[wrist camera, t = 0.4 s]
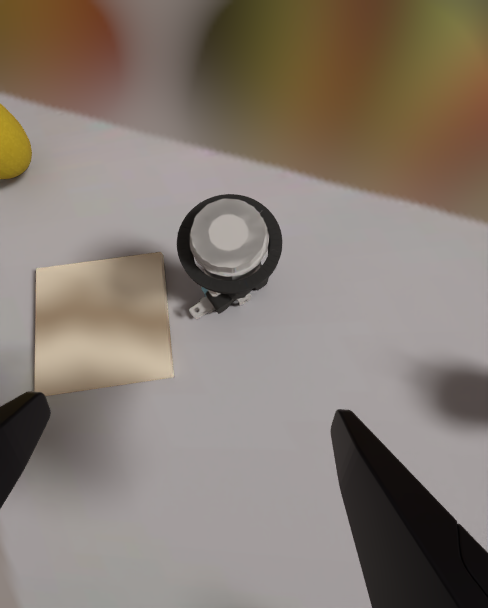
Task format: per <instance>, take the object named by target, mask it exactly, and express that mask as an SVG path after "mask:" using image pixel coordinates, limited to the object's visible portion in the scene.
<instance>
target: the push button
mask: <svg viewBox="0 0 488 608" xmlns="http://www.w3.org/2000/svg"><path fill="white" fill-rule="evenodd" d="M267 249H268V257H267V259H266V261H265V262H264V264H263V265H261V260H262V259H263V257H264V256H265V255H266V252H267ZM177 251H178V256H179V259H180V262H181V264H182V266H183V267H184V269H185V271H186V272H187V274H188V275H189V276H190V277H191V278H192V279H193V280H194V281H195V282H196V283H197V284H199V285H200V286H202V288H201V289H202V290H203V292H204V294H205V297H203V298H202V299H200V302H199V303H198V304H196V305H195V306H193V307H192V308H190V309H189V311H190V312H191V314H192V315H193V317H195V319H199V318H200V317H202V316H203V315H204V314H206V313H207V312H208V313H211V312H212V311H214V310H216V311H217V312H218V314H219V313H222V312H223V311H224V310H226V309H227V308H228V307H229V305H230V304H231V303H232V302H234V301H235V300H238V302H239V306H241V305H243V304H244V303H246V302H247V301H249V300H250V299H251V294H250V291H251V290H252V289H254V288H256V289H257V290H259V289H261V288H262V287H264V286H265V285H266V284H267V282H268V278H269V276H270V275H271V274H272V273H273V271H274V269H275V268H276V266H277V264H278V261H279V258H280V255H281V251H282V235H281V230H280V227H279V225H278V223H277V221H276V219H275V217H274V216H273V215H272V213H271V212H270V211H269V210H268V209H267V208H266V207H265V206H263V205H262V204H261V203H259V202H257V201H256V200H254V199H251V198H249V197H246V196H241V195H234V194H226V195H219V196H215V197H211V198H209V199H207V200H205V201H203V202H201V203H199V204H198V205H197V206H195V207H194V208H193V209H192V210H191V211H190V212H189V213H188V214H187V216H186V217H185V219H184V220H183V222H182V224H181V226H180V229H179V232H178V237H177ZM194 257H195V259H196V261H197V262H198V264H200V265H201V266H202V268H203V270H204V272H205V273H204V272H202V271H201V270H200V269H199V268H198V267H197V266H196V264H195V261H194ZM195 308H196V309H195ZM197 310H200V311H199V312H198V313H196V312H197Z"/></svg>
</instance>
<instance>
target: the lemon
mask: <svg viewBox="0 0 488 608" xmlns="http://www.w3.org/2000/svg"><path fill="white" fill-rule="evenodd" d="M31 156H32V151H31V145H30V141H29V139H28V137H27V135H26V133H25V131H24V129H23V128H22V126H21V125H20V123H19V122H18V121H17V120H16V119H15V117H14V116H13V115H12V114H11V113H10V112H9V111H8V110H7V109H6V108H5V107H4V106H2V105H1V104H0V179H10V178H13V177H17V176H18V175H20V174H22V173H23V172H24V171H25V170H26V169H27V168H28V166H29V164H30V162H31Z"/></svg>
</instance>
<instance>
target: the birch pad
mask: <svg viewBox="0 0 488 608" xmlns="http://www.w3.org/2000/svg"><path fill="white" fill-rule="evenodd" d="M172 377H174V371H173V360H172V349H171V337H170V326H169V315H168V303H167V292H166V281H165V269H164V258H163V255H162V253H161V252H156V253H148V254H141V255H133V256H126V257H119V258H111V259H104V260H96V261H89V262H81V263H74V264H67V265H59V266H52V267H44V268H37V269H36V317H35V391H34V392H42V393H44V395H45V396H50V395H57V394H63V393H70V392H77V391H84V390H91V389H97V388H104V387H111V386H118V385H124V384H131V383H138V382H145V381H152V380H158V379H165V378H172Z"/></svg>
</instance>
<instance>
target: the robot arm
mask: <svg viewBox="0 0 488 608" xmlns="http://www.w3.org/2000/svg"><path fill="white" fill-rule="evenodd" d="M50 413H51V412H50V408H49V405H48V402H47V400H46V397H45V395H44V393H42V392H32V391H30V392H26V393H24V394H22V395H20V396H19V397H17V398H15V399H13V400H11V401H10V402H8V403H6V404H4V405H3V406H1V407H0V508H1V507H2V505H3V504H4V502H5V500H6V499H7V497H8V495H9V494H10V492H11V490H12V489H13V487H14V486H15V484H16V482H17V481H18V479H19V477H20V476H21V474H22V472H23V470H24V469H25V467H26V465H27V463H28V461H29V459H30V457H31V455H32V453H33V451H34V449H35V447H36V445H37V443H38V441H39V439H40V437H41V435H42V433H43V430H44V428H45V426H46V424H47V422H48V420H49V418H50ZM331 438H332V444H333V450H334V457H335V463H336V469H337V475H338V480H339V486H340V490H341V494H342V498H343V502H344V505H345V509H346V513H347V516H348V520H349V524H350V527H351V531H352V535H353V538H354V542H355V546H356V550H357V553H358V557H359V561H360V564H361V568H362V572H363V575H364V579H365V583H366V586H367V590H368V594H369V598H370V601H371V605H372V608H488V552H487V551H486V550H485V549H484V548H483V547H482V546H481V545H480V544H479V543H478V542H477V541H476V540H475V539H474V538H473V537H472V536H471V535H470V534H469V533H468V532H467V531H466V530H465V529H464V528H463V527H462V526H461V525H460V524H457V521H456V520H455V519H454V517H453V516H452V515H451V514H450V513H449V512H448V511H447V510H446V509H445V508H444V507H443V506H442V505H441V504H440V503H439V502H438V501H437V500H436V499H435V498H434V497H433V496H432V494H431V493H430V492H429V491H428V490H427V489H426V488H425V487H424V486H423V485H422V484H421V483H420V482H419V481H418V480H417V479H416V478H415V477H414V476H413V475H412V474H411V473H410V472H409V470H408V469H407V468H406V467H405V466H404V465H403V464H402V463H401V462H400V461H399V460H398V459H397V458H396V457H395V456H394V455H393V454H392V453H391V452H390V451H389V450H388V449H387V447H386V446H385V445H384V444H383V443H382V442H381V441H380V440H379V439H378V438H377V437H376V436H375V435H374V434H373V433H372V432H371V431H370V430H369V429H368V428H367V427H366V426H365V425H364V423H363V422H362V421H361V420H360V419H359V418H358V417H357V416H356V415H355V414H354V413H353V412H352V411H350V410H342V409H338V410H337V411H336V413H335V416H334V419H333V422H332V425H331Z"/></svg>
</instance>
